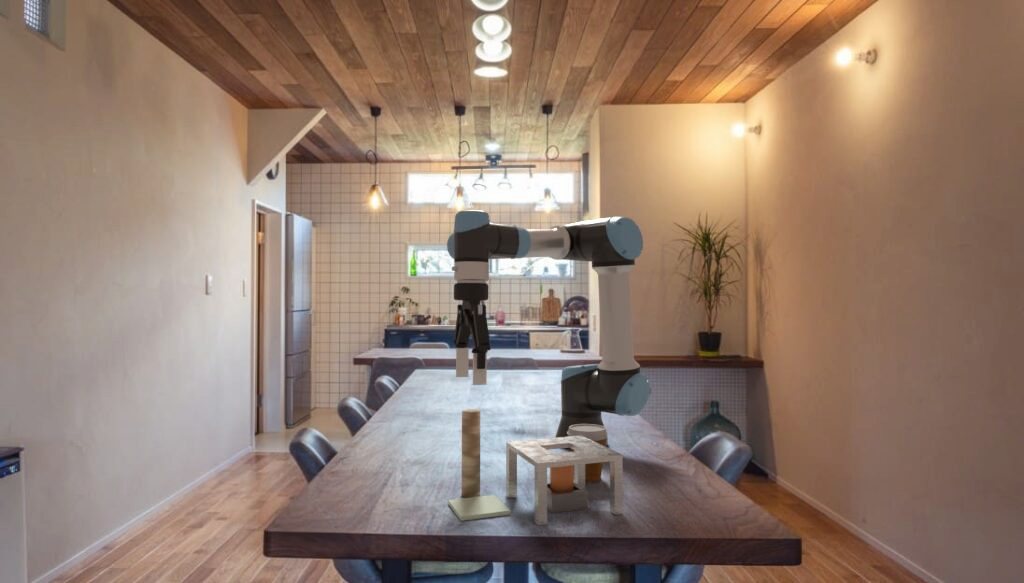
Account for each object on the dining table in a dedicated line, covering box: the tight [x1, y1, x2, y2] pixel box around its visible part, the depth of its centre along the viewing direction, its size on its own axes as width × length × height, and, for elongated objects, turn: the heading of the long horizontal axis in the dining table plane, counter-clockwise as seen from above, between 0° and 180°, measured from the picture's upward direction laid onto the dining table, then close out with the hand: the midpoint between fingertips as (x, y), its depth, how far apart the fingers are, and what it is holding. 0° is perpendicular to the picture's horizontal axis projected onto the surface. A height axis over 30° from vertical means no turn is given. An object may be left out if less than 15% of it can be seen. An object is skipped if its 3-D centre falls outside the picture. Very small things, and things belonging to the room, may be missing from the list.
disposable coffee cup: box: [567, 424, 609, 484], centre depth 140 cm, size 10×10×12 cm
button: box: [549, 465, 574, 493], centre depth 123 cm, size 5×5×6 cm
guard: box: [505, 435, 624, 526], centre depth 123 cm, size 18×18×12 cm
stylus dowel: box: [461, 409, 481, 498], centre depth 129 cm, size 4×4×18 cm
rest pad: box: [447, 494, 511, 522], centre depth 120 cm, size 10×10×1 cm
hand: (470, 380), depth 129 cm, fingers open, 13 cm apart
